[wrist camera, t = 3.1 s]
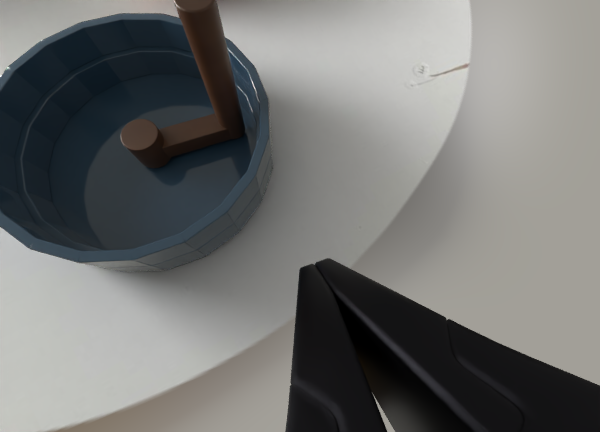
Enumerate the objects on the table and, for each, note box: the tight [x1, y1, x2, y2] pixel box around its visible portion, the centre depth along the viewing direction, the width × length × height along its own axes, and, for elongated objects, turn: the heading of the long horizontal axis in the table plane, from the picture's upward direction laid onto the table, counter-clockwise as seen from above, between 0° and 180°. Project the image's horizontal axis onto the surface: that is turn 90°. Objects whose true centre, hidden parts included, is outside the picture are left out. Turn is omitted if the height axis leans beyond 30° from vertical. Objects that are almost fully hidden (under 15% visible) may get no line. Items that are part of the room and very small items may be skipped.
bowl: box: [0, 13, 273, 272], centre depth 20 cm, size 17×17×5 cm
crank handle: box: [121, 0, 245, 168], centre depth 17 cm, size 2×8×10 cm, turn 111°
